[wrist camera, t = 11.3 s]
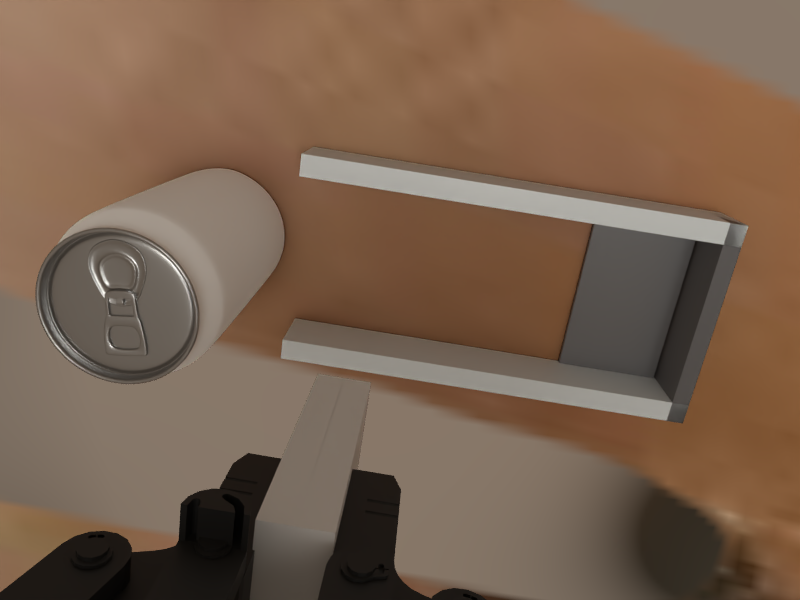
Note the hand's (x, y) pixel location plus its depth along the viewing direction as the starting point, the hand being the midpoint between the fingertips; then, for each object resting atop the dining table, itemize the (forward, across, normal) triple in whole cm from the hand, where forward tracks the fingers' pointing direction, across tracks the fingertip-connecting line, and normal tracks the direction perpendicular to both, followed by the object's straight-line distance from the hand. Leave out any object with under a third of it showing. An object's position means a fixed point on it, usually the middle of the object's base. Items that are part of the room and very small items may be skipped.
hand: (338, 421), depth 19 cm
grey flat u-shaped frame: (+16, -6, -1) cm, 17 cm away
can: (+16, +8, -1) cm, 18 cm away
